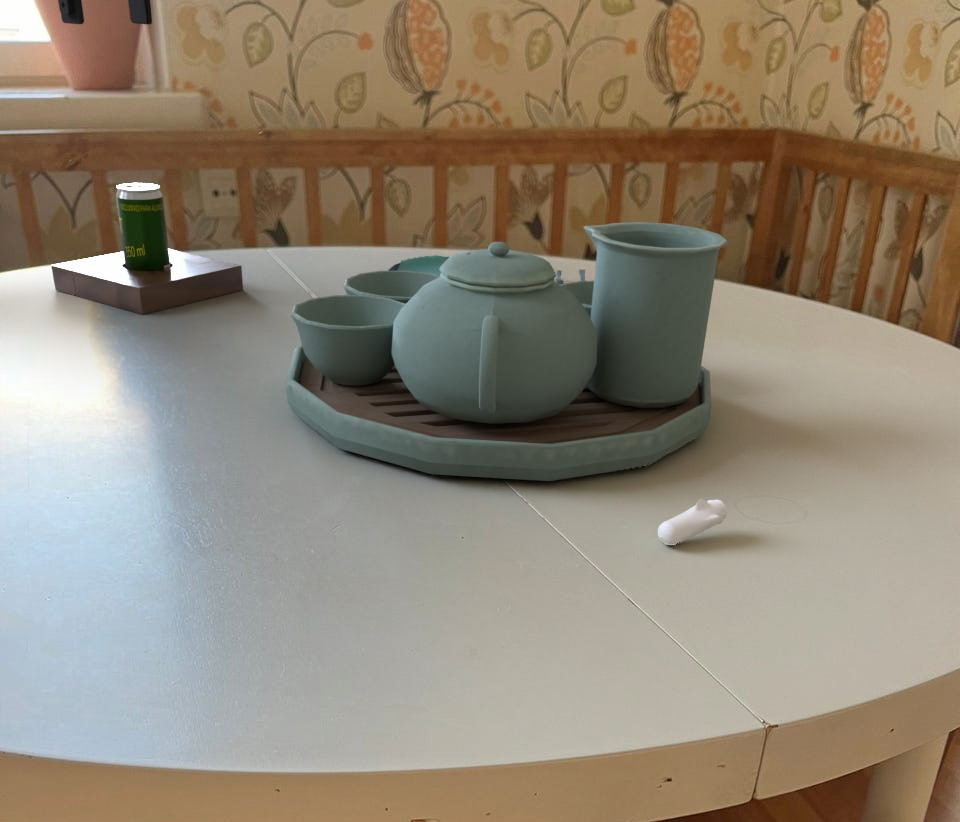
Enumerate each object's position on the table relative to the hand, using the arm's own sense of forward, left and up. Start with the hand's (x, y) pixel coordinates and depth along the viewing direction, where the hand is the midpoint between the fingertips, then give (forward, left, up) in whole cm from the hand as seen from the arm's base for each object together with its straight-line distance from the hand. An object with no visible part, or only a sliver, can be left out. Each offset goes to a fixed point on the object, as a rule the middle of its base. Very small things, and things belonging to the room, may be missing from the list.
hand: (108, 23), depth 122 cm
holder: (+8, -5, -28) cm, 30 cm away
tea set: (+64, -11, -28) cm, 71 cm away
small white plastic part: (+91, -26, -28) cm, 99 cm away
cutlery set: (+40, +26, -28) cm, 56 cm away
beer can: (+8, -5, -28) cm, 30 cm away
